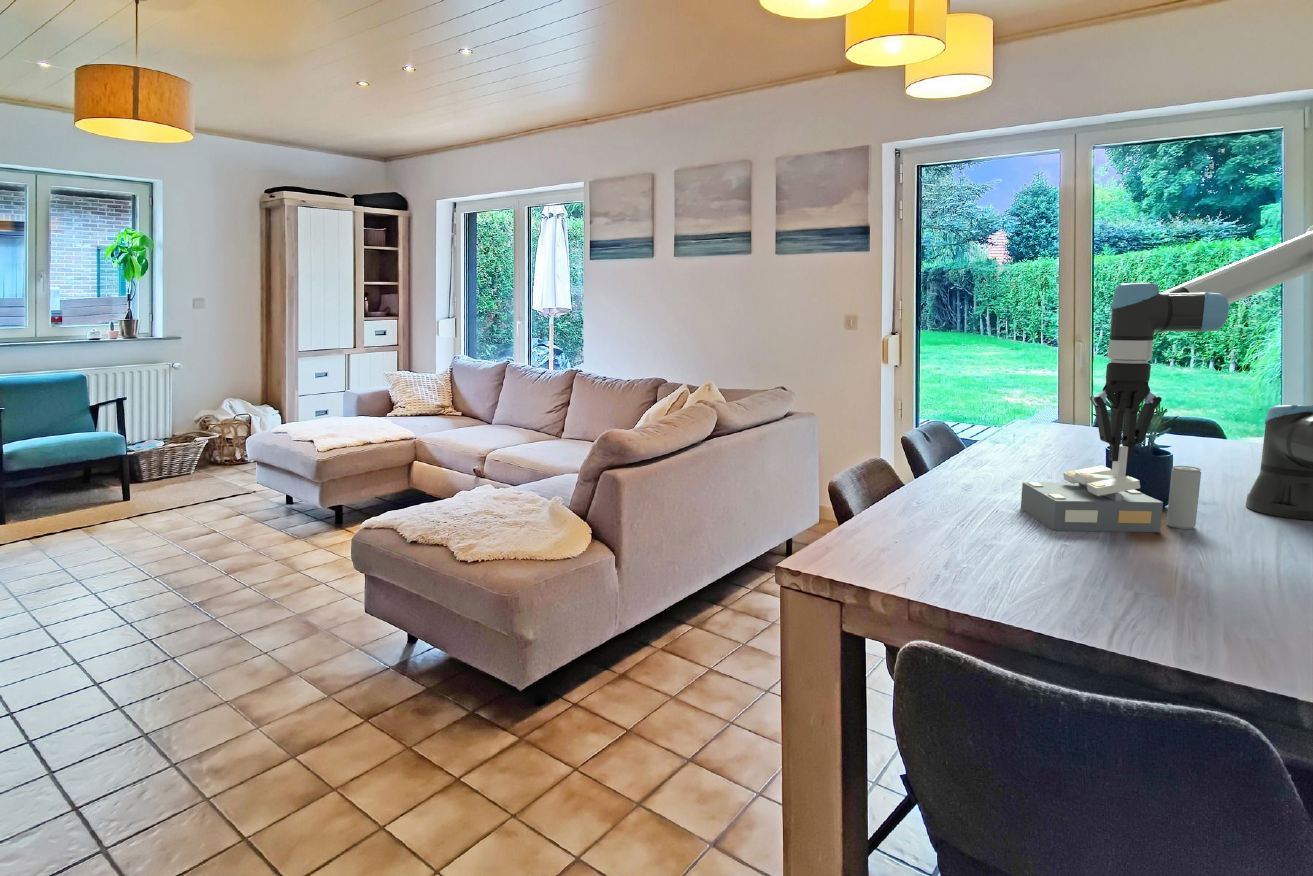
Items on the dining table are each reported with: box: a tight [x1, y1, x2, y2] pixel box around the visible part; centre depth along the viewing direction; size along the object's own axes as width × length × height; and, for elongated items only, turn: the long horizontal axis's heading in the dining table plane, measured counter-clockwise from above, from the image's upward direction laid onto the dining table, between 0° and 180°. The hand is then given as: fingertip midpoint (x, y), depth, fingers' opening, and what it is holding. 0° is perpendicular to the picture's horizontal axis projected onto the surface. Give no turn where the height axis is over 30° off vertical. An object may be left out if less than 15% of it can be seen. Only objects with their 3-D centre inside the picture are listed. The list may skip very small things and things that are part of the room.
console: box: [1020, 481, 1164, 533], centre depth 156 cm, size 20×17×7 cm
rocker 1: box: [1062, 465, 1112, 484], centre depth 161 cm, size 8×4×2 cm, turn 83°
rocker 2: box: [1075, 472, 1117, 484], centre depth 155 cm, size 8×4×2 cm, turn 85°
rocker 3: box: [1087, 475, 1141, 496], centre depth 150 cm, size 8×4×2 cm, turn 83°
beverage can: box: [1166, 465, 1202, 530], centre depth 150 cm, size 5×5×12 cm
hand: (1118, 476), depth 155 cm, fingers closed
